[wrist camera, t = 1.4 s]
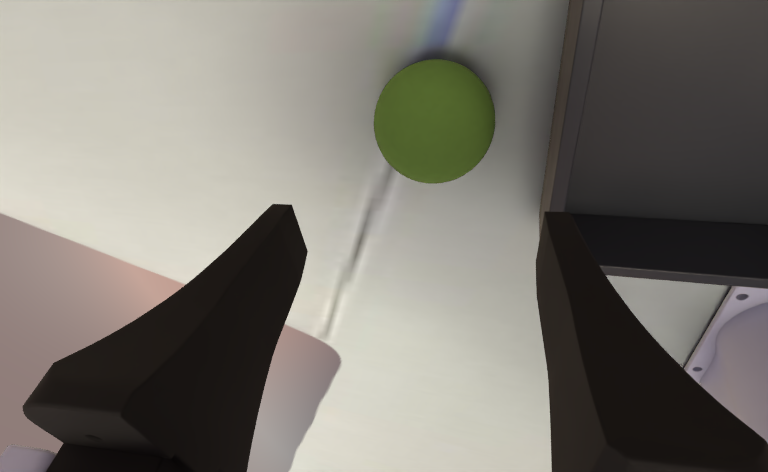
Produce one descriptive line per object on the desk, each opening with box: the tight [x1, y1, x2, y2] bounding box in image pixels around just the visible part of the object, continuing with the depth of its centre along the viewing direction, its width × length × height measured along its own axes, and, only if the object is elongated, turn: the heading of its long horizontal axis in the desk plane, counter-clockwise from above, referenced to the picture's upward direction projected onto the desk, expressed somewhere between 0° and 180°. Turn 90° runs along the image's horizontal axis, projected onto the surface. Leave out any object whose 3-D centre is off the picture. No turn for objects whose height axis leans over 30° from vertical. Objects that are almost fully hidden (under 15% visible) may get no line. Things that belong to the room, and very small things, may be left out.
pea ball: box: [374, 59, 495, 183], centre depth 20 cm, size 5×5×5 cm
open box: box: [539, 0, 768, 289], centre depth 17 cm, size 15×12×4 cm
